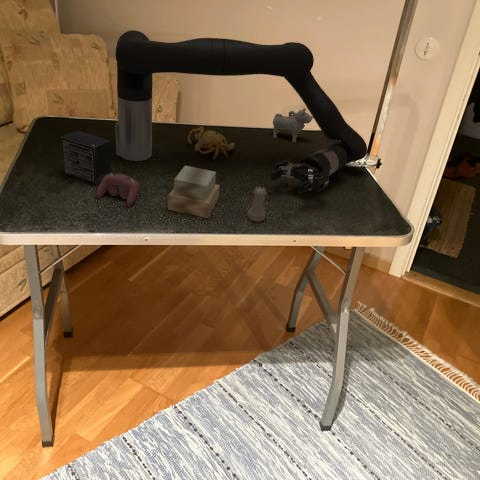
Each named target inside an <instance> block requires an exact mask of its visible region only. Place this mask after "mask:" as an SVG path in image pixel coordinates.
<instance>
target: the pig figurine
mask: <svg viewBox="0 0 480 480" xmlns="http://www.w3.org/2000/svg"><path fill="white" fill-rule="evenodd" d="M306 111H307V107H306V108H305V107H304V108H302V109H300V110H298V111H297V112H295V111H294V110H290V111H289V112H288V116H286V115H285V116H284V115H283V114H282V113H276V114H275V115H274V117H273V120H272V125H273V135H272V136H273V138H275V139H277V138H278V136H277V135H279V134H280V131H279V130H284V131H285V130H286V131H288V132H290V133H291V135H292V137H291V138H292V140H291V141H292V143H296V142H297V139H298V133H300V132H301V131H302V130H303V129H305V126H306V125H305V124H310V123H311V122H312V121H313V120H314V118H313V116H312V115H311V114H310V113H308V112H306Z"/></svg>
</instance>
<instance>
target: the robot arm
mask: <svg viewBox="0 0 480 480" xmlns="http://www.w3.org/2000/svg"><path fill="white" fill-rule="evenodd" d="M114 54H115V57H114V58H115V60H116V72H117V73H116V90H117V91H116V95H117V97H116V98H117V121H116V123H115V127H114V128H115V150H116V151H115V155H116V156H118V157H120V158H122V159H124V160H125V161H131V162H142V161H146V160H149V159H150V158H151V157H152V156H153V155H152V153H153V147H152V146H153V145H152V144H153V143H152V142H153V140H152V139H153V74H161V73H162V74H163V73H165V74H166V73H175V74H187V75H199V76H200V75H202V76H214V77H215V76H217V77H219V76H220V77H226V76H227V77H228V76H229V77H232V76H233V77H234V76H235V77H236V76H251V75H252V76H253V75H268V76H274V77H281V78H284V79H285V80H286V82H288V84H289V85H290V86H291V87H292V88H293V90H294V91H295V92H296V93H297V95H298V96H299V98H300V99H301V100H302V102H303V103H304V104H305V107H306V109H307V110H308V112H309V114H310V115H311V116H313V120H315V122H316V124H317V126H318V127H319V129H320V131H321V132H322V133H323V135H324V137H325V138H326V139H327V140H329V141H335V140H337V142H335V143H333V144H332V145H330V146H328V147H326V148H324V149H321V150H318V151H316V152H314V153H311V154H309V155H307V156H305V157H304V158H302V160H301V161H299V162H298V163H297V162H296V163H292V162H291V161H292V160H291V159H290V158H286V159H283V160H280V161H278V162H275V163H274V170H272V171H271V172H270V180H271V181H276V180H277V179H280V178H281V177H286V178H287V179H296V180H299V181H300V182H302V183H300V184H298V187H297V191H296V192H297V193H299V194H303V193H305V192H307V191H312V190H313V191H314V192H315V193H319V192H321V191H322V190H324V189H325V188H327V187H328V186H329V181H330V179H331V178H330V176H331V175H333V174H334V173H335V172H337V171H339V170H341V169H342V168H343V167H344V166H346V165H347V164H350V163H354V162H358V161H361V160H363V159H364V158H365V157H366V156H367V153H368V146H367V143H366V141H365V139H364V138H363V137H362V136H361V135H360V133H358V132H357V131H356V130H355V129H354V128H353V127H351V125H350V124H349V123H347V121H346V120H345V119H344V116H343V115H342V114H341V112H340V111H339V109H338V107H337V106H336V104H335V103H334V102H333V100H332V99H331V98H330V97H329V95H328V94H327V93H326V92H325V90H323V88H322V87H321V85H320V84H319V83H318V81H317V80H316V79H315V77H314V75H313V74H312V72H311V71H312V69H313V67H314V62H315V58H314V55H313V53H312V50H311V49H310V48H309V47H308V46H307V45H305V44H304V43H301V42H298V41H294V42H292V41H289V42H285V43H282V44H260V43H255V42H248V41H243V40H239V39H232V38H230V39H229V38H221V37H220V38H218V37H200V38H192V39H187V40H183V41H176V42H166V41H157V40H150V39H149V37H148V36H147V35H145V34H144V33H143V32H141V31H140V30H133V29H132V30H127V31H125V32H124V33H123V34H121V35H120V36H119V38H118V40H117V42H116V47H115V53H114ZM284 171H285V172H284ZM291 173H292V174H291Z"/></svg>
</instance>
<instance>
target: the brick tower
mask: <svg viewBox="0 0 480 480" xmlns="http://www.w3.org/2000/svg"><path fill="white" fill-rule="evenodd" d="M216 178H217V171H212V170H209V169H203V168H199V167H194V166H189V165H184V166H183V167H182V169H181V170H180V171H179V173H178V174H177V175H176V177H175V178H174V181H173V184H174V185H173V188H172V190H171V191H170V192H169V194H168V196H167V210H169V211H172V212H177V213H183V214H187V215H190V216H196V217H200V218H205V219H208V218H209V216H210V215H211V213H212V211H213V210H214V207H215V206H216V204H217V203H218V200H219V197H220V188H221V186H220V184H216Z"/></svg>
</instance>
